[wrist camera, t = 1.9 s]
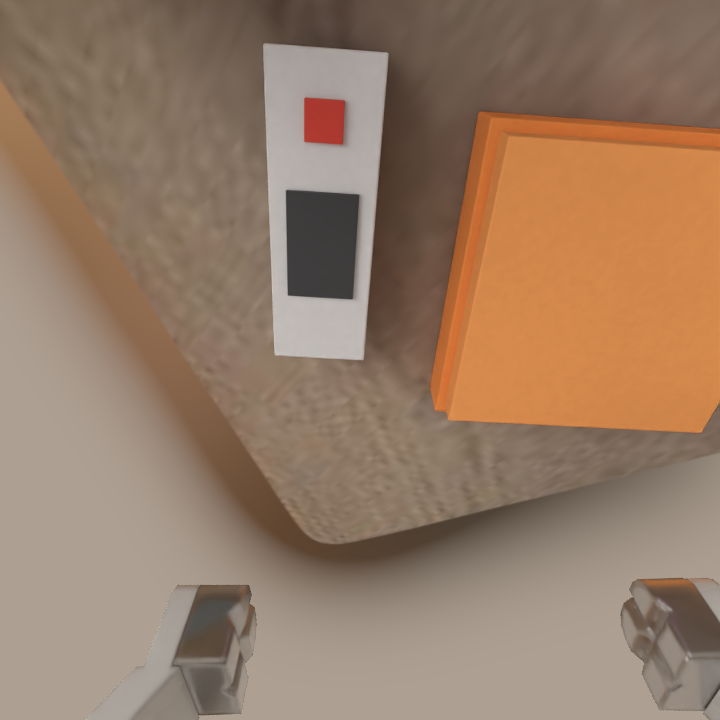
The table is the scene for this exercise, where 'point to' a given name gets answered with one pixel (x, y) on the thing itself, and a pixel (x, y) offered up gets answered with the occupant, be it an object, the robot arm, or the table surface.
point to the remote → (322, 193)
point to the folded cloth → (584, 277)
